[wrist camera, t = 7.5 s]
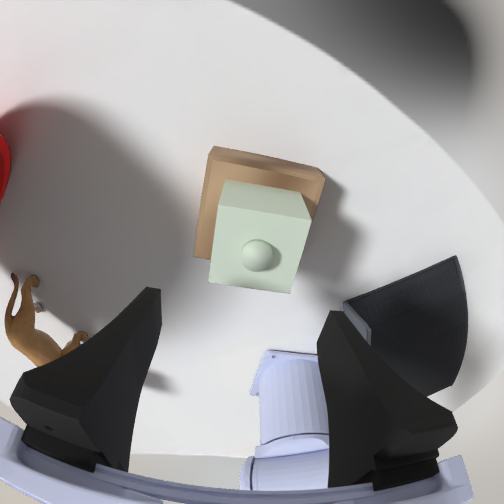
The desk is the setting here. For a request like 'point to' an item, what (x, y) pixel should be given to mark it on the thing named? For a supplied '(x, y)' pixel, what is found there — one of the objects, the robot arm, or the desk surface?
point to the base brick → (255, 172)
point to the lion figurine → (23, 331)
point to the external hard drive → (417, 325)
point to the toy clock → (4, 165)
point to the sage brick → (258, 237)
